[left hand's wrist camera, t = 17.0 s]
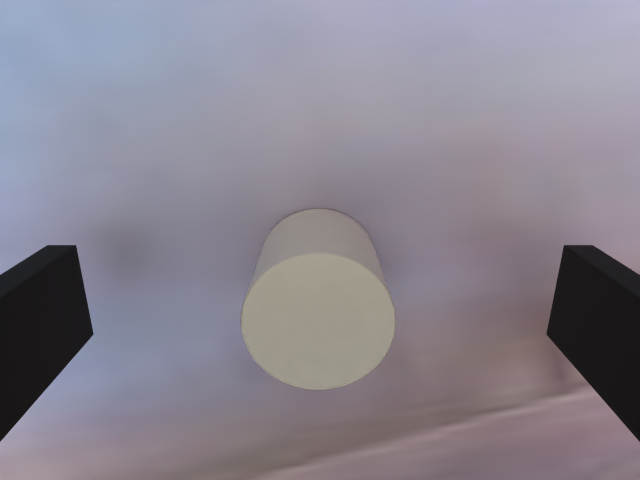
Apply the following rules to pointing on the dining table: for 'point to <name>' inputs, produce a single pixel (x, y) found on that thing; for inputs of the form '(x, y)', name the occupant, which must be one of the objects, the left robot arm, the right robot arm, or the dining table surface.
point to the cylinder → (318, 302)
